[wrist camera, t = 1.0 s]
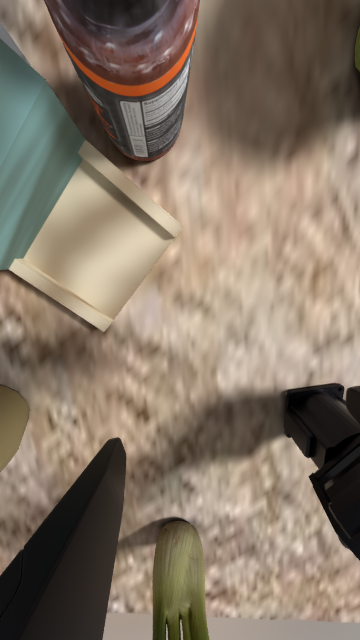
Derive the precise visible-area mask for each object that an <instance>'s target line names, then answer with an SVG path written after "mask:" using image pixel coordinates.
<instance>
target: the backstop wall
mask: <svg viewBox="0 0 360 640" xmlns="http://www.w3.org/2000/svg"><path fill="white" fill-rule="evenodd" d="M0 39H2V40H3V41H4V42H5V43H6V44H7V45H8V46H9V47H10V48H11V49H12V50H13V51H15V52H16V53H17V54H18V55H19V56H20V57H21V58H22V59H23V60H24V61H25V62H26V63H28V64H29V62H28V61H27V59H26V58H25V56H24V55H23V54H22V52H21V51H20V49H19V48H18V46H17V45H16V44H15V42H14V41H13V39H12V38H11V36H10V35H9V34H8V32H7V31H6V29H5V28H4V26H3V25H2V24H1V22H0ZM29 65H30V64H29Z"/></svg>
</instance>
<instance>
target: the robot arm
mask: <svg viewBox="0 0 360 640" xmlns="http://www.w3.org/2000/svg"><path fill="white" fill-rule="evenodd" d="M292 394H293V395H292ZM343 394H344V386H342V385H341V384H331V385H324V386H317V387H310V388H303V389H296V390H290V391H288V392H287V397H286V409H285V418H284V427H285V431H284V433H285V435H286V436H287V437H288V438H291V437H292V439H293V440H294V442H295V443H296V444H297V446H298V447H299V449H300V450H301V451H302V453H303V454H304V456H305V457H307V458H311V459H312V460H313V462H314V463H315V464H316V466H317V467H318V469H319V470H317V471H316V472H315V473H312V474H311V475H310V476H309V478H310V480H311V482H312V484H313V488H314V490H315V492H316V494H317V496H318V498H319V500H320V502H321V504H322V506H323V508H324V510H325V512H326V514H327V516H328V518H329V520H330V522H331V524H332V526H333V528H334V530H335V532H336V534H337V535H338V538H339V540H340V542H341V543H342V544H343V546H344V547H345V548H348V549H350V550H351V551H352V552H353V554H354V555H355V556H356V557H357V558H358V559H359V560H360V386H354V387H350V388H348V389H347V391H346V401H345V400H344V399H343ZM125 473H126V452H125V449H124V447H123V444H122V441H121V439H120V438H119V437H117V438H112V439H109V440H108V441H107V442H106V443H105V445H104V446H103V447H102V448H101V450H100V451H99V452H98V453H97V455H96V456H95V457H94V458H93V460H92V461H91V462H90V463H89V465H88V466H87V467H86V469H85V470H84V471H83V472H82V474H81V475H80V476H79V477H78V479H77V480H76V481H75V482H74V484H73V485H72V486H71V487H70V489H69V490H68V491H67V492H66V494H65V495H64V496H63V498H62V499H61V500H60V501H59V503H58V504H57V505H56V506H55V508H54V509H53V510H52V511H51V513H50V514H49V515H48V516H47V518H46V519H45V520H44V522H43V523H42V524H41V525H40V527H39V528H38V529H37V530H36V532H35V533H34V534H33V535H32V537H31V538H30V539H29V540H28V542H27V543H26V544H25V546H24V549H22V550H20V552H19V553H18V554H17V555H16V557H15V558H14V559H13V561H12V562H11V563H10V564H9V566H8V567H7V568H6V569H5V571H4V572H3V573H2V574H1V575H0V640H102V639H103V632H104V626H105V619H106V613H107V607H108V601H109V594H110V588H111V582H112V575H113V569H114V563H115V556H116V550H117V544H118V537H119V531H120V525H121V518H122V511H123V502H124V488H125Z"/></svg>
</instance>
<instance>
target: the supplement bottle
mask: <svg viewBox="0 0 360 640" xmlns="http://www.w3.org/2000/svg"><path fill="white" fill-rule="evenodd" d="M44 1H45V4H46V6H47V8H48V11H49V13H50V16H51V18H52V21H53V23H54V25H55V27H56V29H57V32H58V34H59V36H60V38H61V40H62V41H63V44H64V47H65V49H66V51H67V53H68V55H69V57H70V59H71V61H72V64H73V66H74V68H75V70H76V72H77V74H78V77H79V78H80V80H81V82H82V84H83V86H84V88H85V90H86V92H87V94H88V97H89V99H90V101H91V103H92V105H93V107H94V110H95V111H96V113H97V116H98V118H99V121H100V123H101V124H102V126H103V128H104V130H105V132H106V134H107V135H108V137H109V138H110V140H111V141H112V143H113V144H114V145H115V146H116V147H117V148H118V149H119V150H120V151H121V152H122V153H123V154H125V155H126V156H127V157H129V158H132V159H134V160H140V161H152V160H155V159H158V158H160V157H162V156H163V155H165V154H166V153H167V152H168V151H169V150H170V149H171V148H172V147H173V145H174V144H175V142H176V140H177V138H178V136H179V133H180V129H181V125H182V120H183V114H184V107H185V101H186V94H187V87H188V81H189V74H190V67H191V61H192V54H193V47H194V41H195V33H196V25H197V18H198V11H199V2H200V0H44Z"/></svg>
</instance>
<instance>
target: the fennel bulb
mask: <svg viewBox="0 0 360 640" xmlns="http://www.w3.org/2000/svg"><path fill="white" fill-rule="evenodd" d="M180 620H182V627H183V628H182V630H183V640H209V636H208V628H207V621H206V612H205V573H204V559H203V551H202V544H201V540H200V536H199V534H198V532H197V530H196V528H195V527H194V526H192V525H191V524H189V523H187V522H184V521H172V522H169V523H167V524H166V525H165V526H164V527H163V528H162V529H161V531H160V533H159V536H158V540H157V544H156V548H155V556H154V566H153V640H166V624H167V628H168V640H181V633H180Z"/></svg>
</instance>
